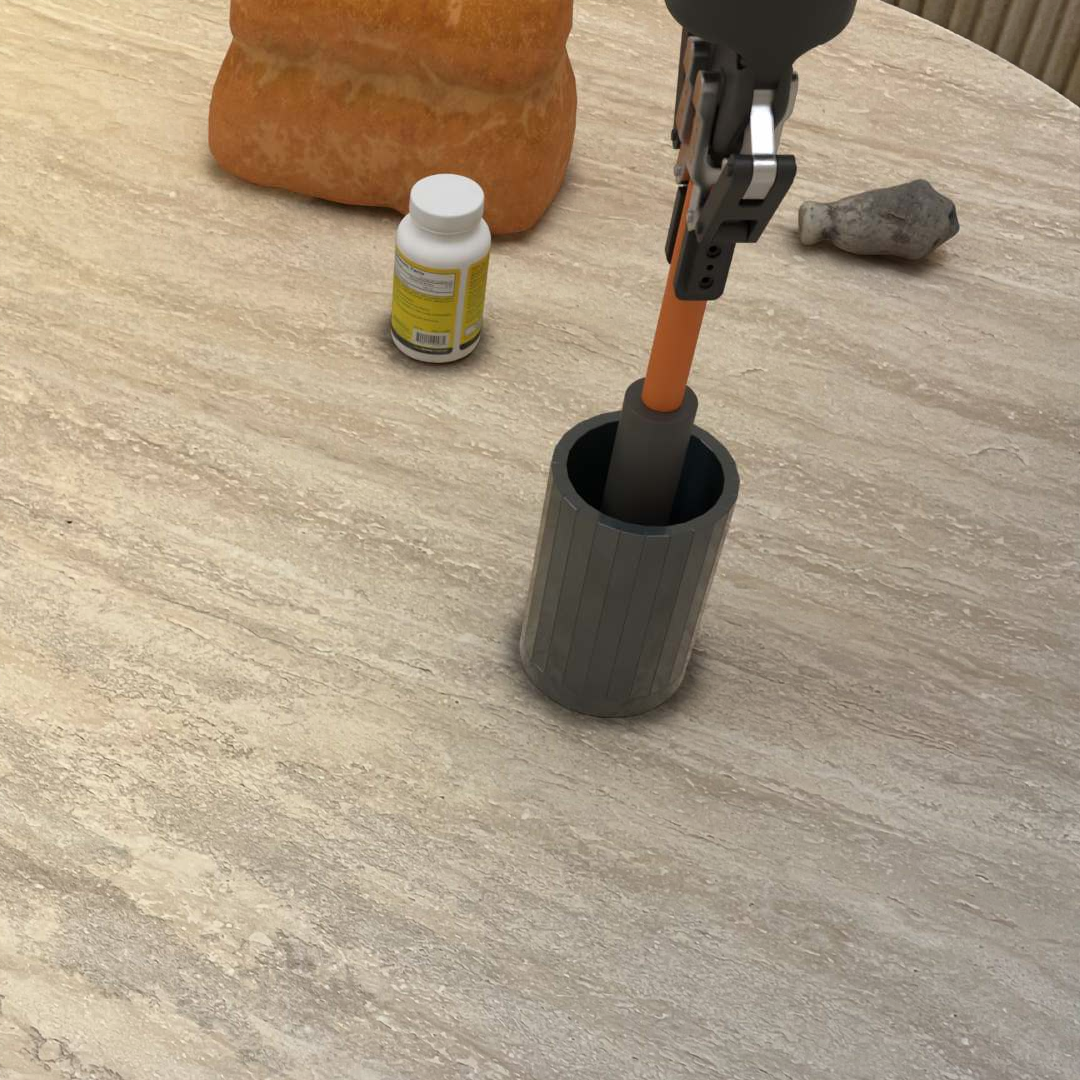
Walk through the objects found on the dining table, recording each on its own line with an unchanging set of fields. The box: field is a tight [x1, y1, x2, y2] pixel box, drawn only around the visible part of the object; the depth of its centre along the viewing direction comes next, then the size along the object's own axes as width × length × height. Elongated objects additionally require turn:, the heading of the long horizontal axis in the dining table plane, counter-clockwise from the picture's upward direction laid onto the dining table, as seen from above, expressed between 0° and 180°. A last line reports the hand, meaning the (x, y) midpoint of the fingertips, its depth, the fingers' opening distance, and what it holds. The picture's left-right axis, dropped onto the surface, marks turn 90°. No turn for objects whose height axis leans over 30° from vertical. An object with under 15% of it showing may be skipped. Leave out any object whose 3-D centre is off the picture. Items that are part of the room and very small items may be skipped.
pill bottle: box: [390, 174, 492, 364], centre depth 111 cm, size 6×6×11 cm
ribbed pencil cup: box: [518, 409, 741, 718], centre depth 93 cm, size 10×10×14 cm
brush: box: [600, 177, 714, 526], centre depth 82 cm, size 4×4×20 cm
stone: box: [797, 178, 961, 262], centre depth 120 cm, size 10×5×8 cm
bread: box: [207, 0, 578, 236], centre depth 122 cm, size 16×26×17 cm, turn 70°
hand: (692, 276), depth 78 cm, fingers closed on brush, 2 cm apart
